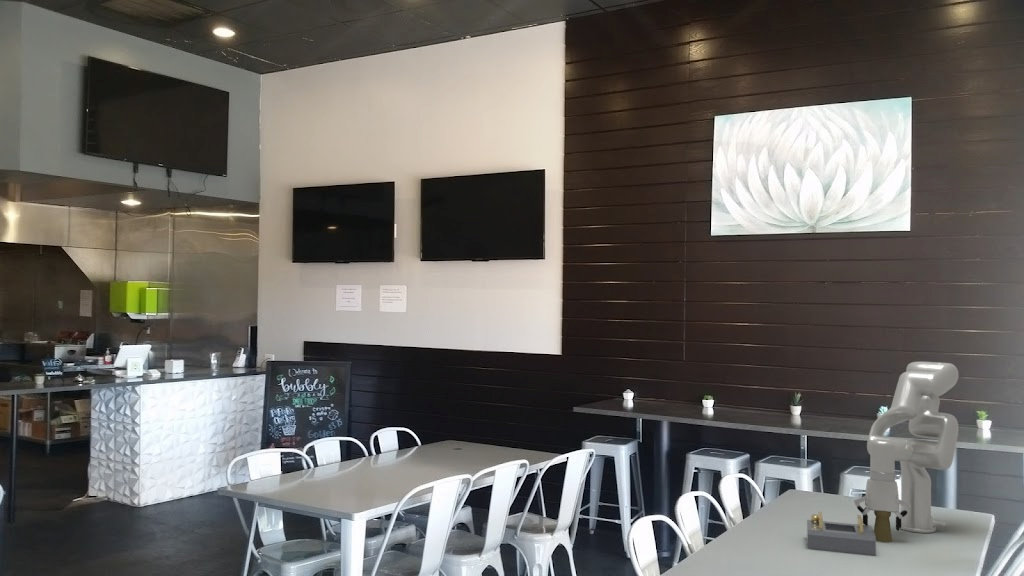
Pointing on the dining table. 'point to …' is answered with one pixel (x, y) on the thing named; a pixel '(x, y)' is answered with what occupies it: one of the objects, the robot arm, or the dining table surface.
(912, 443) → the robot arm
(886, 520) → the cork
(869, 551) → the grey slotted box
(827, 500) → the dining table surface
